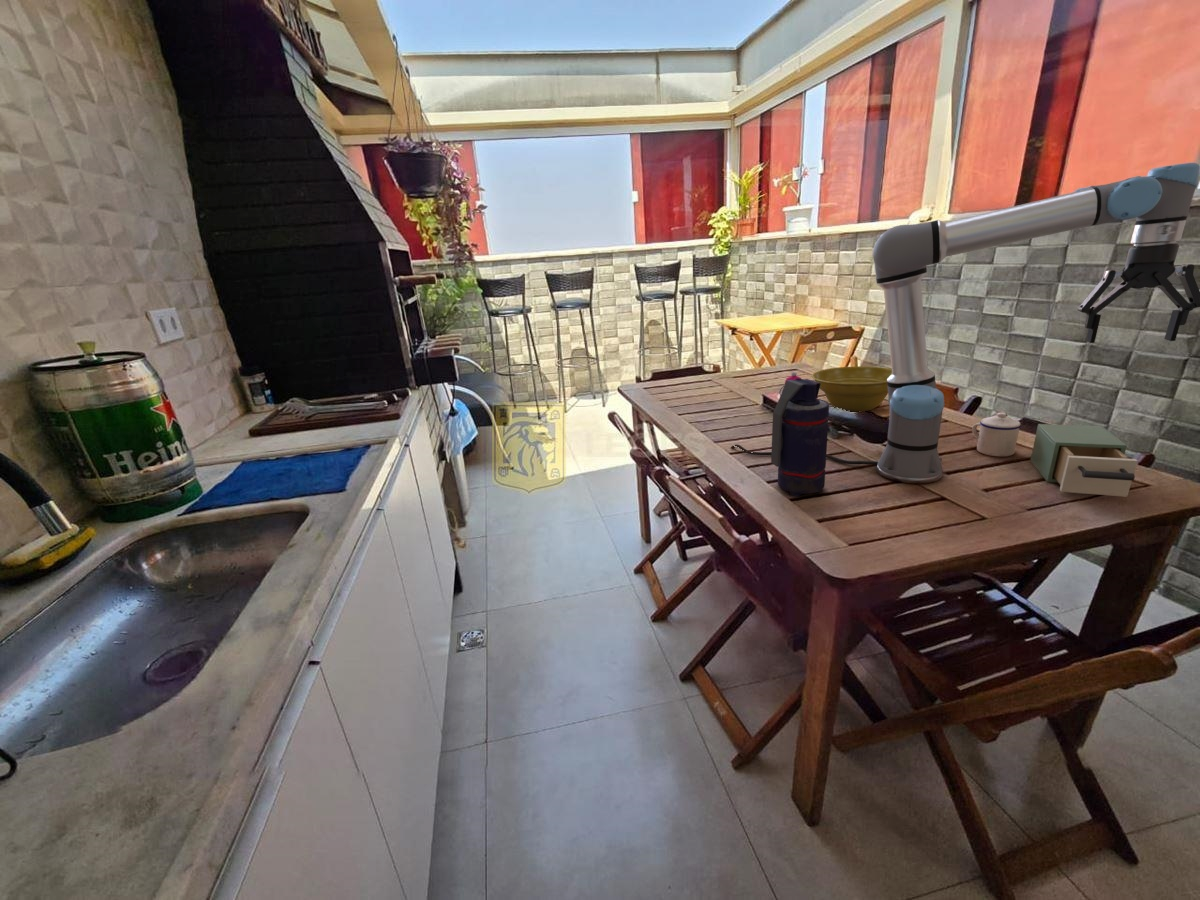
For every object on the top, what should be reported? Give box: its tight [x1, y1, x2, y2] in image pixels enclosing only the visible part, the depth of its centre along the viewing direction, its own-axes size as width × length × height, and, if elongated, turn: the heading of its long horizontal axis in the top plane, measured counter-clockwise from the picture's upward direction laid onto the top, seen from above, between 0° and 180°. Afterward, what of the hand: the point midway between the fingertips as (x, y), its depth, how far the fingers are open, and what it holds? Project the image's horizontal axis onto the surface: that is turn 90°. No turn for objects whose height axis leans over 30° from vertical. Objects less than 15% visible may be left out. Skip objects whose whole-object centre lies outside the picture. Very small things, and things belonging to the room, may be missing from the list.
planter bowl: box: [811, 365, 892, 412], centre depth 192 cm, size 32×32×13 cm
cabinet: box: [1029, 423, 1128, 484], centre depth 124 cm, size 15×13×11 cm
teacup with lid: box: [971, 412, 1022, 457], centre depth 141 cm, size 12×9×12 cm
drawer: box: [1053, 446, 1139, 498], centre depth 115 cm, size 18×11×9 cm, turn 154°
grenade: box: [770, 378, 830, 497], centre depth 128 cm, size 14×12×30 cm
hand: (1128, 341), depth 115 cm, fingers open, 13 cm apart
